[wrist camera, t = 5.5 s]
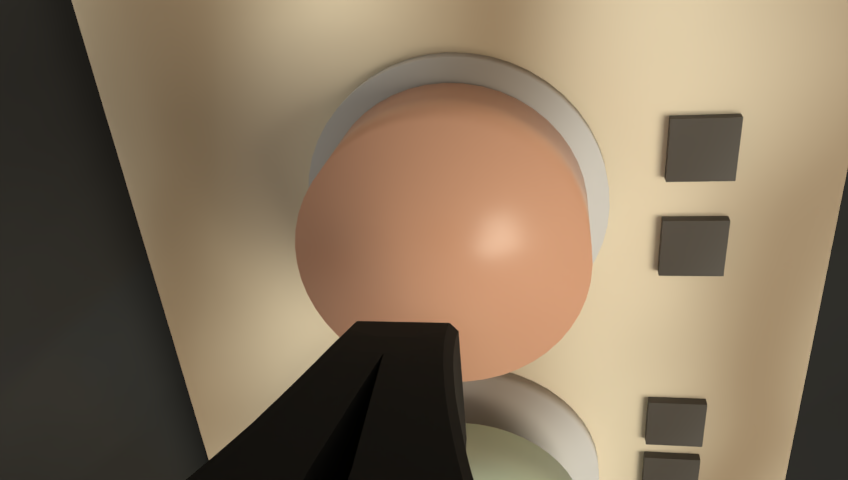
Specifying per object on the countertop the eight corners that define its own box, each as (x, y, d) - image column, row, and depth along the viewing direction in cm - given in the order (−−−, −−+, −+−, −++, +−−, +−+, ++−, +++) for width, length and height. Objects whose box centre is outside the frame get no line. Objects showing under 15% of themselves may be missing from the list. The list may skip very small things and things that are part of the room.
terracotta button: (590, 77, 12) (596, 116, 11) (584, 322, 15) (589, 386, 13) (307, 88, 13) (270, 125, 12) (345, 317, 16) (318, 377, 14)
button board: (866, -185, 12) (931, -189, 10) (711, 717, 24) (726, 800, 22) (100, -114, 15) (25, -105, 13) (307, 674, 27) (286, 744, 25)
